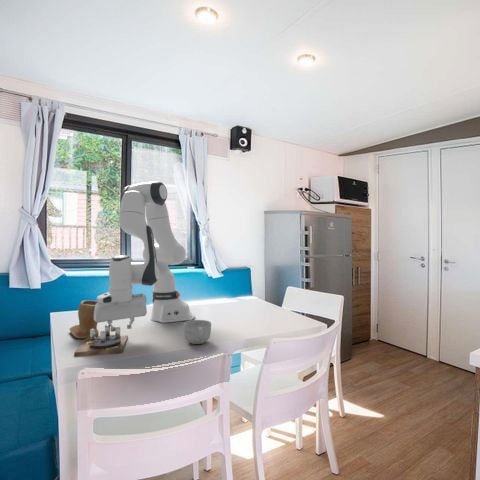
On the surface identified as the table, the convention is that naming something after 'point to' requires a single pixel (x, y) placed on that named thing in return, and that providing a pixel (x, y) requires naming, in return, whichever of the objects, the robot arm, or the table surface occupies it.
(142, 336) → the table surface
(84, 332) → the tan boot
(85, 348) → the stand board
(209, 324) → the teacup
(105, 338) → the grey pegged disc
